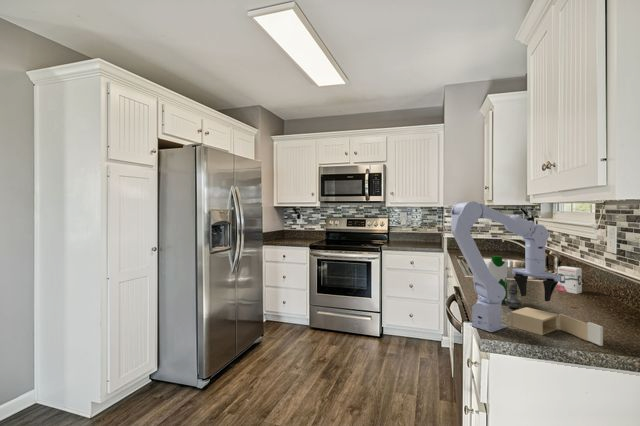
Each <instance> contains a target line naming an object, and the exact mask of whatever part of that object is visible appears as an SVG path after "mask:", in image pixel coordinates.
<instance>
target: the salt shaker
mask: <svg viewBox="0 0 640 426" xmlns="http://www.w3.org/2000/svg"><path fill="white" fill-rule="evenodd" d="M507 293H508V295H507V299H505V302H506V303H505V304H506V305H507V306H506V307H505V310H506V311H510V312H512V311H515V310H518V309H520V308H519V307H520V306H521V303H522V300H521V299H519V298H518V293H519V291H518V284H517V282H516V281H515V279H512V280H511V282H509V283H508V289H507Z"/></svg>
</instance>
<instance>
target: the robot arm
mask: <svg viewBox="0 0 640 426" xmlns="http://www.w3.org/2000/svg"><path fill="white" fill-rule="evenodd" d="M449 215H450V217H451V227H450V228H451V229H450V231H451V234H452V235H453V238H454V240H455V242H456V244H457V245H458V247H459V250H460V252H461V254H462V256H463V257H464V259H465V261H466V264H467V266H468V268H469V270H470V271H471V274H472V276H473V277H472V282H473V289H474V292H475V293H476V294H477V301H476V303H474V304H473V305H472V308H471V323H469V326H471V327H473V328H477V329H481V330H483V331H487V332H489V333H493V332H497V331H499V330H502V329H505V328H507V327H508V325H506V324H503V323H502V304H503V303H502V300H503V299H504V298H505V295H506V291H505V288H504V287H503V286H502V285H500V284H499V283H498V281H497V279H496V278H495V277H494V276H493V275H492V274H491V273H490V271H489V269H488V267H487V265H486V263H485V262H484V260H483V259H484V258H483V256H482V254H481V252H480V250H479V248H478V246H477V243H476V242H475V240H474V238H473V236H472V234H471V229H472V227H473V226H474V225H475V224H476V222H477V221H478V220H479V219H480V218H482V219H483V218H484V219H487V220H490V221H493V222H495V223H498V224H500V225H503V226H504V228H505V230H506V231H507V232H510V233H513V234H515V235H518V236H520V237H522V238H523V240H524V241H525V242H524V245H525V256H524V257H525V268H523V269H522V268H512V269H511V271H512V272H511V273H512V275H514V276H513V280H514V282H515V283H516V284H517V288H518V290H519V292H520V296H521V297H526V296H527V284H528V277H530V278H536V279H542V284H543V288H544V301H545V302H549V301H551V298H552V295H553V293H554V290H555V288H556V286H557V283H558V281H561V278H560V275H558V273H557V274H556V273H552V272H547V271H546V245H547V241H548V239H549V238H550V234H551V233H550V232H549V230H548V229H547V227H546V226H544V225H542V224H535V221H533V220H527V219H525V218H523V217H522V216H523V215H520V214H513V215H510V216H509V215H506V214H504V213H502V212H501V211H498V210H496V209H494V208H492V207H490V206H488V205H486V204H483V203H479V202H477V201H473V200H472V201H465V202H463V201H460V202H459V201H458V202H456V203H455V204H454V205H453V207H452V208H451V211H450V213H449Z"/></svg>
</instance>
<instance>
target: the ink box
mask: <svg viewBox="0 0 640 426" xmlns="http://www.w3.org/2000/svg"><path fill="white" fill-rule="evenodd" d="M582 271H583V270H582V268H581V267H573V266H566V265H562V266H557V275H560V278H561V281H558V283H557V285H556V286H557V287H556V289H557V291H560V292H565V293H570V294H581V293H582V289H583V288H582V284H583V283H582V278H583V277H582V275H583V274H582Z"/></svg>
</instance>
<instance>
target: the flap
mask: <svg viewBox="0 0 640 426" xmlns="http://www.w3.org/2000/svg"><path fill="white" fill-rule="evenodd" d="M558 317H559V319H558V321H559V322H558V323H559V324H558V325H559V326H558V329H559V330H562V331H563V332H565V333H568V334H571V335H573V336H575V337H578V338H579V339H582V340H584V341H585V342H586V341H587V342H590V343H593V344H596V345H597V346H602V347H603V346H604V335H603V334H604V326H602V325H598V324H596V323H593V322H591V321H587V322H584V321H582V320H579V319H577V318H575V317H572V316H569V315H565V314H563V313H559V314H558Z"/></svg>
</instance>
